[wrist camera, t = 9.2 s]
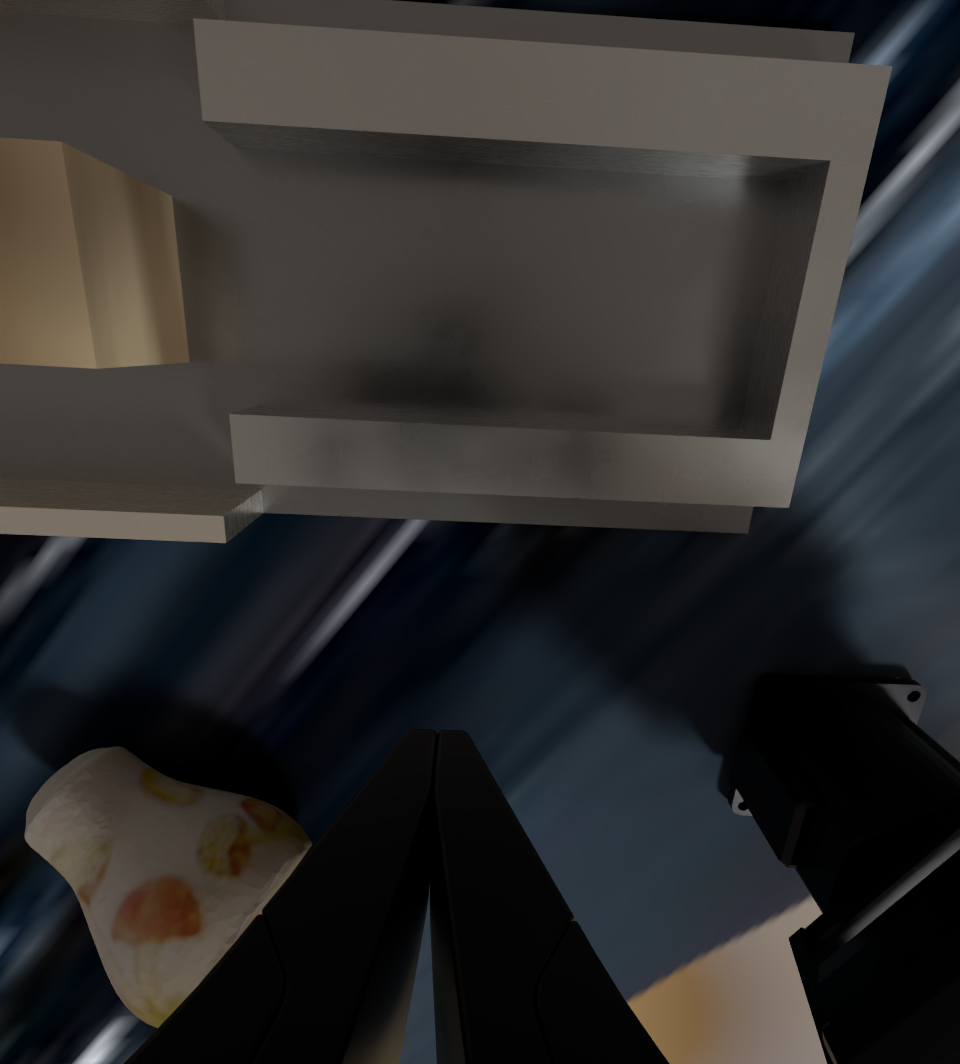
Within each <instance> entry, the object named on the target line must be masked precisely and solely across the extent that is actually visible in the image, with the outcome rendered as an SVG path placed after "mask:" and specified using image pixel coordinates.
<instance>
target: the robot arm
mask: <svg viewBox="0 0 960 1064" xmlns="http://www.w3.org/2000/svg"><path fill="white" fill-rule="evenodd" d="M770 686H774V687H773V689H771V690H770V691H767V689H768V688H769V687H770ZM910 692H911V694H909V693H910ZM908 694H909V695H908ZM926 697H927V691H926V689H925V688H924V687H923V686H922V685H920V684H919V683H918V682H916V681H915V680H911V679H891V678H863V677H835V676H807V675H779V674H768V675H764V676H762V677H760V678H759V679H758V680H757V682H756V684H755V687H754V691H753V695H752V699H751V704H750V708H749V712H748V716H747V720H746V724H745V726H744V727H743V729H742V731H741V735H740V739H739V743H738V747H737V752H736V756H735V760H734V764H733V768H732V773H731V781H732V783H731V787H730V791H729V796H728V803H729V804H730V806H731V808H732V810H733V812H734V813H736V814H737V815H746V816H753V818H754V819H755V821H756V823H757V824H758V826H759V828H760V829H761V831H762V833H763V834H764V836H765V838H766V839H767V841H768V843H769V844H770V846H771V848H772V850H773V851H774V853H775V855H776V856H777V858H778V860H779V861H780V862H781V863H782V864H783V865H784V866H785V867H787V868H795V869H796V871H797V872H798V874H799V876H800V877H801V879H802V880H803V882H804V884H805V885H806V887H807V889H808V890H809V892H810V893H811V895H812V897H813V898H814V900H815V902H816V903H817V905H818V906H819V908H820V910H821V911H822V913H823V914H822V915H820V916H819V917H818V918H817V919H816V920H815V921H813V922H812V923H811V924H810V925H809V926H808V927H806V928H805V929H804V928H800V929H799V930H798V931H796V932H795V933H794V934H793V935H792V936H791V937H789V941H790V945H791V948H792V951H793V954H794V958H795V961H796V964H797V967H798V971H799V973H800V977H801V980H802V983H803V987H804V990H805V993H806V996H807V1000H808V1003H809V1006H810V1009H811V1012H812V1016H813V1019H814V1022H815V1025H816V1029H817V1032H818V1035H819V1038H820V1042H821V1045H822V1048H823V1051H824V1054H825V1058H826V1061H827V1064H960V762H959V761H958V760H957V759H956V758H954V757H953V756H952V755H951V754H950V753H949V752H947V751H946V750H945V749H944V748H943V747H942V746H940V745H939V744H938V743H937V742H936V741H935V740H933V739H932V738H931V737H930V736H929V735H928V734H926V733H925V732H924V731H923V730H922V729H921V728H919V727H918V726H917V723H918V720H919V717H920V714H921V711H922V708H923V706H924V703H925V700H926ZM742 801H744V802H742ZM740 802H742V803H740ZM429 886H430V930H431V950H432V971H433V992H434V1012H435V1033H436V1054H437V1064H669V1062H668V1061H667V1060H666V1058H665V1057H664V1056H663V1054H662V1053H661V1051H660V1050H659V1049H658V1047H657V1046H656V1044H655V1043H654V1041H653V1040H652V1038H651V1037H650V1036H649V1034H648V1033H647V1031H646V1030H645V1028H644V1027H643V1026H642V1024H641V1023H640V1021H639V1020H638V1018H637V1017H636V1015H635V1014H634V1013H633V1011H632V1010H631V1008H630V1007H629V1005H628V1004H627V1002H626V1001H625V1000H624V998H623V997H622V995H621V993H620V992H619V990H618V988H617V987H616V985H615V984H614V982H613V980H612V979H611V977H610V976H609V974H608V972H607V971H606V969H605V967H604V966H603V964H602V963H601V961H600V959H599V958H598V956H597V955H596V953H595V951H594V950H593V948H592V946H591V944H590V943H589V941H588V939H587V937H586V936H585V934H584V932H583V931H582V929H581V927H580V925H579V924H578V922H576V921H574V916H573V914H572V912H571V910H570V909H569V907H568V905H567V903H566V902H565V900H564V898H563V897H562V895H561V893H560V891H559V890H558V888H557V886H556V884H555V883H554V881H553V879H552V878H551V876H550V874H549V872H548V871H547V869H546V867H545V865H544V864H543V862H542V860H541V859H540V857H539V855H538V853H537V852H536V850H535V848H534V847H533V845H532V843H531V841H530V840H529V838H528V836H527V834H526V833H525V831H524V829H523V828H522V826H521V824H520V822H519V821H518V819H517V817H516V815H515V814H514V812H513V810H512V809H511V807H510V805H509V803H508V802H507V800H506V798H505V796H504V795H503V793H502V791H501V790H500V788H499V786H498V784H497V783H496V781H495V779H494V777H493V776H492V774H491V772H490V771H489V769H488V767H487V765H486V764H485V762H484V760H483V758H482V757H481V755H480V753H479V752H478V750H477V748H476V746H475V745H474V743H473V741H472V739H471V738H470V736H469V734H468V733H467V732H466V731H460V730H441V731H440V732H439V733H438V735H437V732H436V731H435V730H428V729H411V730H409V731H408V732H407V733H406V734H405V735H404V736H403V738H402V739H401V740H400V741H399V743H398V744H397V745H396V746H395V747H394V749H393V750H392V751H391V752H390V754H389V755H388V756H387V757H386V758H385V760H384V761H383V762H382V763H381V765H380V766H379V767H378V768H377V769H376V771H375V772H374V773H373V774H372V776H371V777H370V778H369V779H368V780H367V782H366V783H365V784H364V785H363V787H362V788H361V789H360V790H359V791H358V793H357V794H356V795H355V796H354V798H353V799H352V800H351V801H350V802H349V804H348V805H347V806H346V807H345V809H344V810H343V811H342V812H341V813H340V815H339V816H338V817H337V818H336V820H335V821H334V822H333V823H332V825H331V826H330V827H329V828H328V829H327V831H326V832H325V833H324V834H323V836H322V837H321V838H320V839H319V840H318V842H317V843H316V844H315V845H314V847H313V848H312V849H311V850H310V851H309V853H308V854H307V855H306V856H305V858H304V859H303V860H302V861H301V862H300V864H299V865H298V866H297V867H296V869H295V870H294V871H293V872H292V873H291V875H290V876H289V877H288V878H287V880H286V881H285V882H284V883H283V884H282V886H281V887H280V888H279V889H278V891H277V892H276V893H275V894H274V895H273V897H272V898H271V899H270V900H269V902H268V903H267V904H266V905H265V906H264V908H263V909H262V915H261V914H259V915H257V916H256V917H255V918H254V919H253V921H252V922H251V923H250V924H249V925H248V927H247V928H246V929H245V930H244V932H243V933H242V934H241V935H240V937H239V938H238V939H237V940H236V942H235V943H234V944H233V945H232V946H231V947H230V949H229V950H228V951H227V952H226V953H225V954H224V956H223V957H222V958H221V959H220V960H219V961H218V963H217V964H216V965H215V966H214V967H213V968H212V970H211V971H210V972H209V973H208V974H207V975H206V977H205V978H204V979H203V980H202V981H201V982H200V984H199V985H198V986H197V987H196V988H195V989H194V990H193V991H192V992H191V993H190V995H189V996H188V997H187V998H186V999H185V1000H184V1001H183V1002H182V1003H181V1004H180V1005H179V1006H178V1007H177V1008H176V1009H175V1010H174V1011H173V1013H172V1014H171V1015H170V1016H169V1017H168V1018H167V1019H166V1020H165V1021H164V1022H163V1023H162V1024H161V1025H160V1026H159V1027H158V1028H157V1030H156V1031H155V1032H154V1033H153V1034H152V1035H151V1036H150V1037H149V1038H148V1039H147V1040H146V1041H145V1042H144V1043H143V1044H142V1045H141V1046H140V1047H139V1048H138V1049H137V1050H136V1051H135V1052H134V1053H133V1055H132V1056H131V1057H130V1058H129V1059H128V1060H127V1061H126V1062H125V1063H124V1064H399V1063H400V1058H401V1052H402V1047H403V1041H404V1035H405V1030H406V1024H407V1019H408V1013H409V1007H410V1002H411V996H412V991H413V985H414V980H415V974H416V968H417V963H418V957H419V952H420V946H421V941H422V935H423V929H424V924H425V918H426V911H427V905H428V897H429Z"/></svg>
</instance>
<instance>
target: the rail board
mask: <svg viewBox="0 0 960 1064" xmlns="http://www.w3.org/2000/svg"><path fill="white" fill-rule="evenodd" d="M854 34H855V33H847V32H833V31H819V30H804V29H790V28H776V27H762V26H748V25H733V24H719V23H705V22H691V21H677V20H662V19H648V18H634V17H620V16H606V15H592V14H577V13H563V12H549V11H535V10H521V9H506V8H492V7H478V6H464V5H450V4H435V3H421V2H407V1H393V0H0V137H1V138H16V139H31V140H45V141H60V142H63V143H65V144H67V145H69V146H71V147H73V148H75V149H77V150H79V151H81V152H84V153H86V154H88V155H90V156H92V157H94V158H96V159H98V160H100V161H102V162H104V163H106V164H108V165H110V166H112V167H114V168H116V169H118V170H120V171H122V172H124V173H126V174H128V175H130V176H132V177H134V178H136V179H139V180H141V181H143V182H145V183H147V184H149V185H151V186H153V187H155V188H157V189H159V190H161V191H163V192H165V193H167V194H169V195H171V196H172V202H173V211H174V221H175V230H176V239H177V249H178V258H179V268H180V277H181V287H182V296H183V306H184V315H185V324H186V334H187V343H188V353H189V362H188V363H174V364H159V365H145V366H130V367H115V368H101V369H92V368H74V367H55V366H37V365H19V364H1V363H0V534H23V535H47V536H71V537H95V538H119V539H143V540H167V541H191V542H215V543H227V542H228V541H229V540H230V539H232V538H233V537H234V536H235V535H237V534H238V533H239V532H240V531H241V530H243V529H244V528H245V527H246V526H248V525H249V524H250V523H251V522H252V521H254V520H255V519H256V518H257V517H259V516H260V515H261V514H262V513H281V514H305V515H328V516H351V517H374V518H397V519H420V520H444V521H467V522H490V523H513V524H536V525H559V526H583V527H606V528H629V529H652V530H675V531H698V532H722V533H745V534H748V531H749V526H750V521H751V517H752V512H753V507H754V506H756V507H779V508H789V505H790V501H791V497H792V492H793V488H794V484H795V480H796V475H797V471H798V467H799V463H800V458H801V454H802V450H803V446H804V441H805V437H806V433H807V428H808V424H809V420H810V416H811V411H812V407H813V403H814V399H815V394H816V390H817V386H818V381H819V377H820V373H821V369H822V364H823V360H824V356H825V352H826V347H827V343H828V339H829V335H830V330H831V326H832V322H833V317H834V313H835V309H836V305H837V300H838V296H839V292H840V288H841V283H842V279H843V275H844V271H845V266H846V262H847V258H848V253H849V249H850V245H851V241H852V236H853V232H854V228H855V224H856V219H857V215H858V211H859V207H860V202H861V198H862V194H863V189H864V185H865V181H866V177H867V172H868V168H869V164H870V160H871V155H872V151H873V147H874V143H875V138H876V134H877V130H878V125H879V121H880V117H881V113H882V108H883V104H884V100H885V96H886V91H887V87H888V83H889V79H890V74H891V70H892V66H880V65H865V64H851V63H848V62H849V57H850V53H851V48H852V43H853V38H854Z"/></svg>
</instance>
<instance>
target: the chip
mask: <svg viewBox="0 0 960 1064" xmlns="http://www.w3.org/2000/svg"><path fill="white" fill-rule="evenodd" d="M188 362H189V353H188V343H187V334H186V324H185V315H184V306H183V296H182V287H181V277H180V268H179V258H178V249H177V239H176V230H175V221H174V211H173V202H172V196H171V195H169V194H167V193H165V192H163V191H161V190H159V189H157V188H155V187H153V186H151V185H149V184H147V183H145V182H143V181H141V180H139V179H136V178H134V177H132V176H130V175H128V174H126V173H124V172H122V171H120V170H118V169H116V168H114V167H112V166H110V165H108V164H106V163H104V162H102V161H100V160H98V159H96V158H94V157H92V156H90V155H88V154H86V153H84V152H81V151H79V150H77V149H75V148H73V147H71V146H69V145H67V144H65V143H63V142H60V141H45V140H31V139H16V138H1V137H0V363H1V364H19V365H37V366H55V367H74V368H92V369H101V368H115V367H130V366H145V365H159V364H174V363H188Z"/></svg>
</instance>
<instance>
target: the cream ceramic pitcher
mask: <svg viewBox="0 0 960 1064" xmlns="http://www.w3.org/2000/svg"><path fill="white" fill-rule="evenodd" d="M25 839H26V841H27V843H28V844H29V845H30V847H31V848H33V849H34V850H35V851H36V852H38V853H39V854H40V855H41V856H42V857H43V858H44V859H46V860H47V861H48V862H49V863H50V864H51V865H52V866H53V867H54V868H55V869H56V870H57V871H58V872H59V873H60V874H61V875H62V876H63V877H64V878H65V879H66V880H67V881H68V883H69V884H70V885H71V887H72V888H73V890H74V892H75V894H76V896H77V898H78V900H79V902H80V905H81V907H82V910H83V912H84V915H85V918H86V920H87V923H88V926H89V929H90V932H91V934H92V937H93V940H94V942H95V945H96V948H97V950H98V953H99V955H100V958H101V961H102V963H103V966H104V968H105V971H106V973H107V975H108V977H109V979H110V981H111V983H112V985H113V987H114V989H115V991H116V993H117V994H118V996H119V997H120V999H121V1000H122V1001H123V1003H124V1004H125V1005H126V1006H127V1008H128V1009H129V1010H130V1011H131V1012H132V1013H133V1014H134V1015H136V1016H137V1017H138V1018H140V1019H141V1020H143V1021H144V1022H145V1023H147V1024H149V1025H152V1026H154V1027H156V1028H158V1027H159V1026H160V1025H161V1024H162V1023H163V1022H164V1021H165V1020H166V1019H167V1018H168V1017H169V1016H170V1015H171V1014H172V1013H173V1011H174V1010H175V1009H176V1008H177V1007H178V1006H179V1005H180V1004H181V1003H182V1002H183V1001H184V1000H185V999H186V998H187V997H188V996H189V995H190V993H191V992H192V991H193V990H194V989H195V988H196V987H197V986H198V985H199V984H200V982H201V981H202V980H203V979H204V978H205V977H206V975H207V974H208V973H209V972H210V971H211V970H212V968H213V967H214V966H215V965H216V964H217V963H218V961H219V960H220V959H221V958H222V957H223V956H224V954H225V953H226V952H227V951H228V950H229V949H230V947H231V946H232V945H233V944H234V943H235V942H236V940H237V939H238V938H239V937H240V935H241V934H242V933H243V932H244V930H245V929H246V928H247V927H248V925H249V924H250V923H251V922H252V921H253V919H254V918H255V917H256V916H257V915H259V914H261V915H262V909H263V908H264V906H265V905H266V904H267V903H268V902H269V900H270V899H271V898H272V897H273V895H274V894H275V893H276V892H277V891H278V889H279V888H280V887H281V886H282V884H283V883H284V882H285V881H286V880H287V878H288V877H289V876H290V874H291V873H292V872H293V870H294V869H295V868H296V866H297V865H298V863H299V862H300V861H301V859H302V858H303V857H304V855H305V854H306V852H307V851H308V850H309V848H310V847H311V845H312V843H311V840H310V839H309V838H308V836H307V835H306V833H305V832H304V830H303V829H302V828H301V827H300V825H299V824H298V823H297V822H296V821H295V820H294V819H293V818H292V817H290V816H289V815H288V814H286V813H285V812H284V811H282V810H280V809H279V808H277V807H275V806H273V805H271V804H269V803H266V802H264V801H262V800H259V799H255V798H252V797H249V796H245V795H241V794H236V793H231V792H226V791H221V790H217V789H211V788H207V787H202V786H197V785H193V784H188V783H184V782H180V781H177V780H175V779H172V778H169V777H167V776H165V775H163V774H161V773H160V772H158V771H157V770H155V769H153V768H152V767H150V766H149V765H147V764H146V763H144V762H143V761H142V760H140V759H139V758H138V757H136V756H135V755H133V754H132V753H131V752H129V751H128V750H127V749H125V748H124V747H120V746H116V747H110V748H99V749H94V750H91V751H88V752H86V753H83V754H81V755H79V756H78V757H76V758H75V759H73V760H72V761H70V762H69V763H68V764H67V765H65V766H64V767H62V768H61V769H60V770H59V771H57V772H56V773H55V774H54V775H53V776H51V777H50V778H49V779H48V780H47V781H46V783H45V784H44V785H43V786H42V787H41V788H40V790H39V791H38V792H37V794H36V795H35V796H34V798H33V799H32V801H31V803H30V805H29V808H28V810H27V815H26V830H25Z"/></svg>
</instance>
